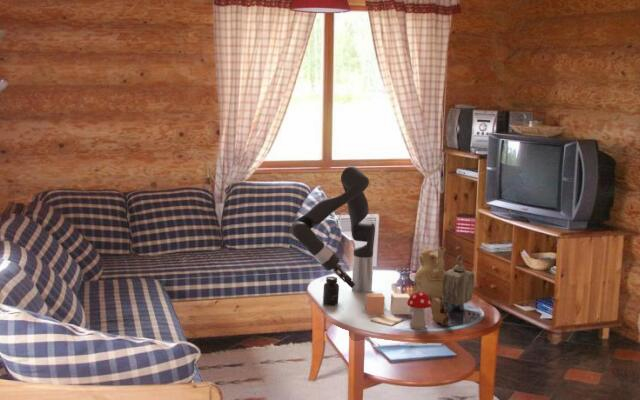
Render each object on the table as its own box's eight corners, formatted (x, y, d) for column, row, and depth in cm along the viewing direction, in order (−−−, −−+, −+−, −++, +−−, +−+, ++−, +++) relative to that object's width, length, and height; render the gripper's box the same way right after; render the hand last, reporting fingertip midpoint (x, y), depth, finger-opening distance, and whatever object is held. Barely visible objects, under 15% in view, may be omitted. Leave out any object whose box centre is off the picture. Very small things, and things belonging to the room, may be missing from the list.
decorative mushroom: (407, 330, 300) (409, 294, 297) (404, 323, 308) (406, 288, 306) (431, 330, 300) (434, 295, 298) (427, 324, 309) (430, 289, 306)
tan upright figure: (436, 288, 363) (440, 238, 359) (456, 300, 344) (460, 248, 340) (405, 290, 357) (408, 239, 353) (423, 302, 339) (426, 249, 335)
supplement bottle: (336, 306, 327) (337, 280, 325) (321, 305, 329) (322, 278, 327) (339, 302, 334) (340, 276, 332) (324, 300, 335) (325, 275, 333)
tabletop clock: (454, 304, 338) (458, 250, 334) (473, 308, 333) (477, 254, 329) (440, 311, 327) (444, 256, 323) (459, 315, 321) (463, 259, 317)
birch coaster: (381, 315, 318) (382, 313, 318) (402, 320, 312) (402, 318, 312) (370, 320, 310) (370, 319, 309) (391, 326, 304) (391, 324, 304)
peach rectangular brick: (366, 313, 319) (367, 296, 318) (364, 309, 324) (365, 293, 323) (383, 313, 320) (384, 297, 319) (381, 309, 325) (382, 293, 324)
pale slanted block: (392, 314, 320) (393, 297, 319) (390, 310, 325) (391, 293, 324) (409, 314, 321) (410, 297, 320) (406, 310, 326) (407, 293, 325)
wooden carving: (452, 328, 305) (454, 304, 303) (442, 328, 304) (444, 305, 302) (435, 315, 320) (437, 293, 319) (425, 316, 319) (427, 293, 318)
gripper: (318, 259, 322) (343, 285, 325) (321, 267, 308) (347, 294, 311) (330, 247, 322) (355, 273, 325) (334, 254, 308) (360, 281, 311)
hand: (351, 283), depth 318 cm, fingers open, 8 cm apart
